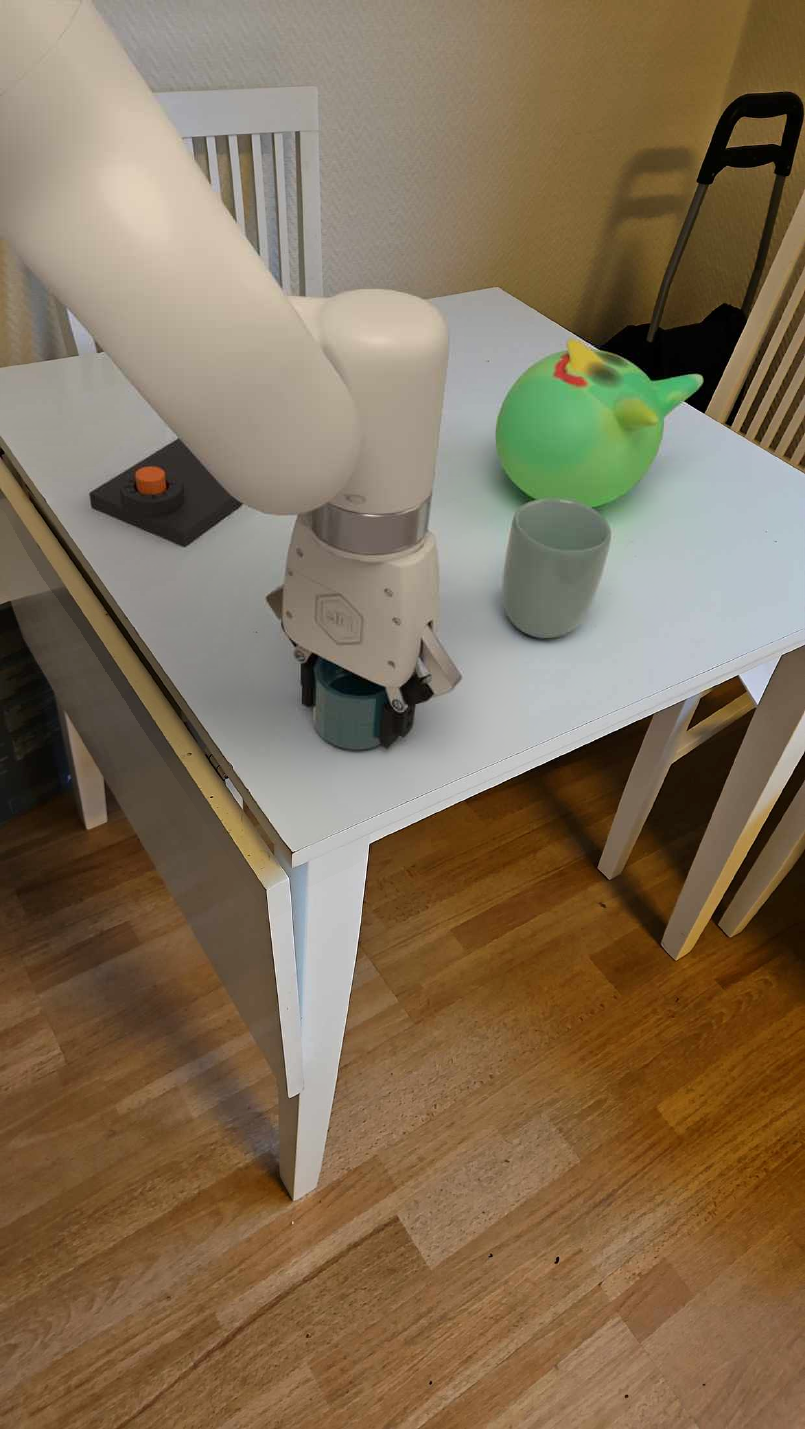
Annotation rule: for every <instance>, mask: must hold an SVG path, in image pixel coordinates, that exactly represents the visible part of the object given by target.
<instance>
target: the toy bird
mask: <svg viewBox="0 0 805 1429" xmlns="http://www.w3.org/2000/svg"><path fill="white" fill-rule="evenodd" d="M566 347H567V349H566V350H562V351H558V352H555V353H552V354H549V355H547V356H545V357H543V358H541V359H540V360H538V361H537V362H535V363H534V364H532V365H531V366H530V367H528V368H527V369H525V371H524V372H523V373H522V374H521V375H520V376H519V377H518V378H517V379H516V381H514V383H513V385H512V386H511V388H510V389H509V390H508V392H507V393H506V396H505V398H504V399H503V402H502V403H501V406H500V409H499V411H498V415H497V420H496V423H495V424H496V425H495V447H496V448H495V449H496V452H497V456H498V460H499V462H500V465H501V466H502V468H503V470H504V472H505V473H506V475H507V476H508V477H509V479H510V480H511V481H512V482H513V483H514V484H515V485H516V487H517V488H519V489H520V491H522V492H524V493H525V494H526V495H527V496H529V497H531V498H533V499H534V500H538V499H545V498H564V499H569V500H574V501H577V502H580V503H583V504H585V505H587V506H589V507H591V508H596V507H599V506H603V505H605V504H609V503H610V502H613V501H615V500H616V499H618V498H620V497H622V496H623V495H624V494H626V493H628V491H630V490H631V489H632V488H633V487H634V486H636V484H637V483H639V481H640V480H642V478H643V477H644V476H645V474H646V473H647V472H648V470H649V469H650V467H651V466H652V464H653V462H654V460H655V458H656V456H657V454H658V453H659V449H660V447H661V443H662V440H663V436H664V430H665V418H666V417H667V415H669V414H670V413H671V412H672V411H673V410H675V409H676V408H677V407H679V406H680V405H681V404H682V403H684V402H685V401H686V400H687V399H688V398H690V397H691V396H692V395H694V393H696V392H697V391H698V390H699V389H700V388H701V387H702V385H703V383H704V377H703V375H701V374H699V373H692V374H685V375H679V376H674V377H670V378H665V379H660V380H659V379H658V380H651V379H650V378H649V376H648V375H647V374H646V373H645V372H644V371H643V370H642V369H641V368H640V367H639V366H637V365H636V364H634V363H633V362H631V361H630V360H628V359H627V358H624V357H622V356H620V355H618V354H615V353H613V352H609V351H604V350H600V349H594V348H593V349H592V348H590V347H588V346H587V345H586V344H584V343H583V342H581V341H579V340H577V339H574V338H570V339H568V340H567V342H566Z"/></svg>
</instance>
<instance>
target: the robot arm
mask: <svg viewBox="0 0 805 1429" xmlns="http://www.w3.org/2000/svg"><path fill="white" fill-rule="evenodd" d="M0 237H1V238H2V239H3V241H4V242H5V243H6V244H7V245H8V247H10V249H11V250H12V251H13V252H14V254H15V255H16V256H17V257H18V258H19V259H20V260H21V261H22V263H23V264H24V265H25V266H26V267H27V269H29V270H30V272H32V274H33V275H35V277H36V278H37V279H38V280H39V281H40V282H41V283H42V284H43V285H44V286H45V287H46V288H47V289H48V290H49V292H51V294H53V295H54V297H56V298H57V299H58V300H59V302H60V303H61V304H62V305H63V306H64V307H65V308H66V309H67V311H69V313H70V314H71V315H72V316H73V317H74V318H75V320H77V321H78V323H79V324H80V325H81V326H82V327H83V329H84V330H85V331H86V332H87V333H88V334H89V335H90V337H91V338H92V339H93V340H94V341H95V343H97V345H98V346H99V348H101V350H102V351H103V352H104V353H105V354H106V355H107V356H108V358H109V359H110V360H111V362H112V363H113V364H114V365H115V367H117V369H119V371H120V372H121V373H122V375H123V376H124V377H125V378H126V379H127V380H128V381H129V383H130V384H131V385H132V386H133V387H134V389H135V390H136V391H137V393H138V394H140V396H141V397H142V398H143V399H144V400H145V402H146V403H147V404H148V405H149V406H150V407H151V409H152V410H153V411H154V412H155V413H156V414H157V415H158V416H159V418H160V419H161V420H162V421H163V422H164V424H165V425H166V426H167V427H168V428H169V429H170V430H171V431H172V432H173V433H174V435H175V436H176V437H177V439H178V438H179V439H180V440H181V441H182V442H183V443H184V444H185V446H186V447H187V448H188V449H189V450H190V451H191V452H192V453H193V454H194V456H195V457H196V458H197V459H198V460H199V461H200V462H201V463H202V465H203V466H204V467H205V468H206V469H207V470H208V471H209V472H210V474H211V475H212V476H213V477H214V478H215V479H216V480H217V481H218V482H219V483H220V485H221V486H222V487H223V488H224V489H225V490H226V491H227V492H228V493H229V494H230V495H231V496H233V497H234V498H235V499H237V500H238V501H239V502H241V503H243V505H245V506H246V507H248V508H250V509H252V510H255V511H258V512H261V513H263V514H267V515H274V516H296V519H295V521H294V525H293V529H292V533H291V537H290V541H289V545H288V550H287V556H286V563H285V571H284V578H283V584H281V585H279V586H277V587H276V588H275V589H273V590H272V591H271V592H269V593H268V594H267V595H266V596H265V601H266V603H267V604H268V606H269V607H270V609H271V611H272V612H273V614H274V615H275V616H276V618H277V620H278V621H279V620H280V621H281V622H280V626H281V629H282V631H283V632H284V634H285V635H286V637H287V638H288V640H289V641H290V643H291V645H293V647H294V649H293V651H292V655H293V658H294V659H295V660H296V661H297V662H298V663H300V686H301V705H302V706H305V707H307V708H310V707H312V708H313V694H314V693H313V692H314V667H315V664H316V661H317V658H318V657H319V656H321V657H323V658H325V659H327V660H329V661H331V662H333V663H335V664H337V665H339V666H341V667H343V668H345V669H347V670H349V671H351V672H353V673H355V674H357V675H359V676H361V677H363V678H366V679H368V680H370V681H372V682H374V683H376V684H379V685H382V686H385V688H386V692H387V695H388V698H389V701H388V702H387V703H386V704H385V705H384V706H383V709H382V718H381V728H380V739H379V742H380V743H381V744H380V746H381V747H383V748H385V749H389V748H390V747H391V746H392V745H393V744H394V743H395V742H396V741H397V740H398V739H399V737H400V738H405V737H406V736H407V735H408V734H409V733H410V732H411V730H412V728H413V727H414V726H413V725H414V721H415V714H416V707H417V705H419V704H423V703H426V702H428V701H430V699H432V698H437V697H440V696H443V695H446V694H449V693H451V692H453V691H454V690H455V689H456V687H458V685H459V684H460V683H461V682H462V681H463V676H462V673H461V672H460V671H459V669H458V668H457V667H456V665H455V663H454V662H453V659H451V657H450V655H449V654H448V652H447V651H446V650H445V648H444V647H443V645H442V644H441V642H440V641H439V639H438V637H437V636H438V635H437V634H438V625H439V615H440V567H439V566H440V565H439V557H438V556H439V555H438V548H437V540H436V536H435V534H434V533H432V532H431V531H430V530H429V525H430V516H431V508H432V507H431V506H432V499H433V490H434V489H433V488H434V483H435V473H436V466H437V458H438V449H439V440H440V434H441V433H440V432H441V425H442V424H441V423H442V416H443V415H442V414H443V406H444V398H445V391H446V390H445V389H446V380H447V375H448V374H447V372H448V365H449V356H450V355H449V354H450V332H449V328H448V324H447V321H446V319H445V317H444V316H443V314H442V313H441V312H440V310H438V309H437V308H436V307H435V306H434V305H433V304H431V303H430V302H429V301H427V300H426V299H423V298H421V297H420V296H416V295H414V294H410V293H407V292H403V291H398V290H393V289H387V288H359V289H352V290H347V291H343V292H340V293H338V294H335V295H333V296H330V297H329V296H328V297H322V296H321V297H317V296H304V295H303V296H301V295H290V294H289V295H288V294H286V292H285V291H284V290H283V288H282V286H280V284H279V283H278V281H277V279H275V277H274V275H273V273H272V272H271V271H270V269H269V268H268V267H267V265H266V263H265V262H264V261H263V260H262V258H261V256H260V255H259V253H258V252H257V251H256V249H255V248H254V246H253V245H252V243H251V242H250V240H249V238H248V237H247V236H246V235H245V233H244V231H243V230H242V228H241V227H240V226H239V224H238V223H237V221H236V220H235V218H234V217H233V215H232V214H231V213H230V211H229V210H228V208H227V207H226V206H225V204H224V202H223V200H221V198H220V196H219V195H218V193H217V191H216V190H215V189H214V187H213V186H212V185H211V183H210V181H209V180H208V178H207V176H206V175H205V173H204V172H203V170H202V168H201V167H200V165H199V164H198V162H197V160H196V158H195V157H194V155H193V153H192V152H191V150H190V148H189V146H188V144H187V142H186V141H185V140H184V138H183V136H182V135H181V134H180V132H179V130H178V129H177V127H176V126H175V125H174V123H173V121H172V120H171V118H170V117H169V115H168V114H167V112H166V111H165V108H163V105H162V104H161V103H160V102H159V100H158V99H157V97H156V96H155V94H154V93H153V90H151V88H150V87H149V85H148V84H147V83H146V81H145V80H144V78H143V77H142V75H141V73H140V72H139V70H138V69H137V67H136V66H135V64H134V63H133V61H132V60H131V58H130V57H129V55H128V53H127V52H126V51H125V49H124V48H123V46H122V45H121V43H120V42H119V40H118V39H117V37H116V36H115V34H114V33H113V31H112V30H111V28H110V27H109V25H108V24H107V22H106V21H105V20H104V18H103V17H102V15H101V14H100V12H99V11H98V9H97V7H96V6H95V4H94V3H93V2H92V0H0ZM419 660H420V661H421V663H422V664H423V666H424V668H426V670H427V672H428V673H429V674H427V675H423V673H422V669H421V667H420V663H419Z"/></svg>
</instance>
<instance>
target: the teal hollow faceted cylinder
mask: <svg viewBox="0 0 805 1429" xmlns="http://www.w3.org/2000/svg"><path fill="white" fill-rule="evenodd" d="M313 693H314V694H313V706H312V720H313V724H314V725H313V726H314V729H315V731H316V732H317V733H318V734H319V735H320V736H321V737H322V739H324V741H326V742H329V743H331V744H332V745H334V746H336V747H338V748H342V749H345V750H353V751H360V750H366V749H372V748H374V747H376V746H378V745H381V743H380V742H379V739H380V728H381V718H382V709H383V706H384V705H385V704H386V703H387V702H388V701H389V698H388V695H387V692H386V688H385V686H382V685H379V684H376V683H374V682H372V681H370V680H368V679H366V678H363V677H361V676H359V675H357V674H355V673H353V672H351V671H349V670H347V669H345V668H343V667H341V666H339V665H337V664H335V663H333V662H331V661H329V660H327V659H325V658H323V657H321V656H319V657H318V658H317V661H316V664H315V667H314V692H313Z"/></svg>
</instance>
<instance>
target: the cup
mask: <svg viewBox="0 0 805 1429" xmlns="http://www.w3.org/2000/svg"><path fill="white" fill-rule="evenodd" d="M611 540H612V529H611V526H610V524H609V522H608V521H607V519H605V518H604V516H603V515H602V514H601V513H599V512H598V511H597V510H596V509H594V508H593V507H589V506H587V505H585V504H583V503H580V502H577V501H574V500H569V499H564V498H545V499H538V500H536V499H534V500H531V501H529V502H527V503H524V504H523V505H521V506H520V507H519V508H518V509H517V510H516V511H515V512H514V514H513V518H512V520H511V524H510V530H509V534H508V540H507V546H506V551H505V558H504V564H503V570H502V579H501V580H502V582H501V596H502V597H501V598H502V603H503V608H504V611H505V613H506V616H507V618H508V619H509V621H510V622H511V623H512V625H514V627H516V629H518V630H520V631H521V632H522V633H524V634H526V635H527V636H531V637H534V638H538V639H554V638H559V637H563V636H565V635H567V634H569V633H571V632H572V631H574V630H575V629H576V628H577V627H579V625H581V624H582V622H583V621H584V619H585V617H586V616H587V614H588V612H589V610H591V607H592V604H593V602H594V600H595V597H596V594H597V591H598V588H599V585H600V582H601V579H602V576H603V572H604V568H605V564H606V561H607V558H608V555H609V550H610V546H611Z"/></svg>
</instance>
